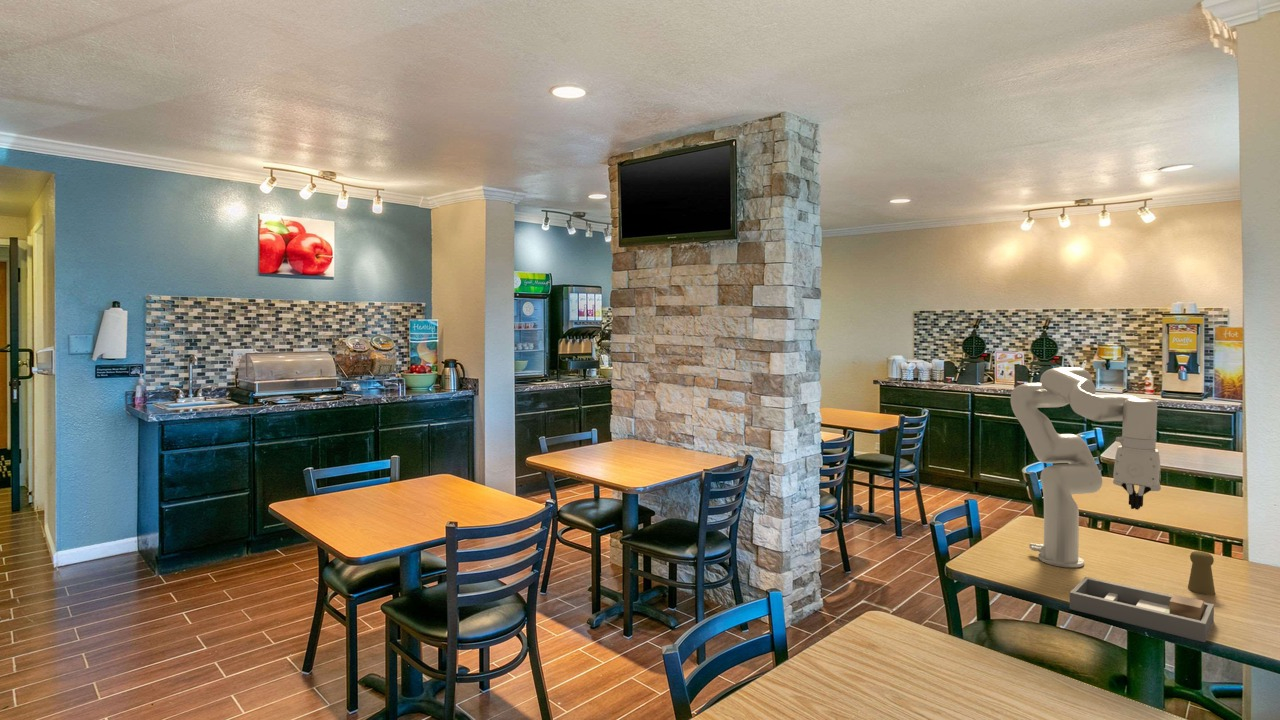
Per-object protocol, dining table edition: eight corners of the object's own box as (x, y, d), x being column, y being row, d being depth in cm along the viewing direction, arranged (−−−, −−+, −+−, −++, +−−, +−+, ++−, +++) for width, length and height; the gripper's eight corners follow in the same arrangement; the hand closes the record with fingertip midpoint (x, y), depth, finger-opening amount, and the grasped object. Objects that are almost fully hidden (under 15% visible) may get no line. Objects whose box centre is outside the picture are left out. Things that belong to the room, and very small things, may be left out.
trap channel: (1069, 608, 179) (1069, 592, 179) (1085, 592, 190) (1085, 576, 190) (1205, 642, 158) (1205, 624, 158) (1213, 621, 170) (1213, 604, 169)
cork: (1220, 595, 186) (1221, 556, 186) (1195, 593, 187) (1196, 555, 187) (1206, 587, 192) (1207, 549, 192) (1182, 585, 193) (1183, 548, 193)
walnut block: (1169, 618, 167) (1169, 601, 167) (1173, 611, 171) (1173, 594, 171) (1200, 625, 163) (1200, 607, 163) (1203, 618, 167) (1204, 600, 167)
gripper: (1102, 441, 187) (1100, 505, 188) (1169, 449, 176) (1166, 517, 177) (1109, 437, 192) (1107, 500, 193) (1175, 445, 181) (1172, 511, 182)
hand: (1135, 508), depth 185 cm, fingers closed
